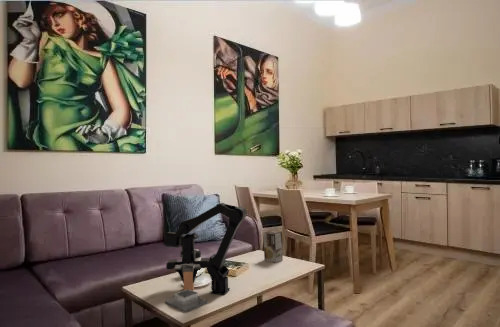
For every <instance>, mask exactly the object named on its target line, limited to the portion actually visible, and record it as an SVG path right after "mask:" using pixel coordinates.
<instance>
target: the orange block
mask: <svg viewBox="0 0 500 327" xmlns="http://www.w3.org/2000/svg"><path fill="white" fill-rule="evenodd" d="M193 272H194V265H193V266H184V268H183V276H184V283H183V290H186V289H189V290H192V291H194V288H195V282H194V283H193Z"/></svg>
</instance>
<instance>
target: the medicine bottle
mask: <svg viewBox="0 0 500 327" xmlns="http://www.w3.org/2000/svg"><path fill="white" fill-rule="evenodd" d="M194 251H195V252H196V259H195V261H200V259H201V258H202V255H201V254H202V252H201V250H199V249H194ZM185 264H187V263H185ZM189 266H193V265H189ZM194 267H195V266H194Z"/></svg>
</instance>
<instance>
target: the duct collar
mask: <svg viewBox="0 0 500 327" xmlns="http://www.w3.org/2000/svg"><path fill="white" fill-rule="evenodd" d="M208 303H209V301H208V300H206V299H204V298H202V297H199V292H197V291H194V290H193V291H192V290H189V289H186V290H184V289H183V290H181V291H179V292H176V293H173V297H171V298H169V299H168V298H167V299H165V300H164V304H167V305H169V306H171V307H172V308H174V309H177V310H180V311H181V312H183V313H185V314H186V313H188V312H190V311H192V310H194V309H197V308H199V307H201V306H204V305H206V304H208Z"/></svg>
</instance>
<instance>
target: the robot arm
mask: <svg viewBox="0 0 500 327" xmlns="http://www.w3.org/2000/svg"><path fill="white" fill-rule="evenodd" d="M219 214H221V215H223V216H225V217H228V226H227V228H226V231H225V233H224V234H223V237H222V239H221V242H220V245H219V247H218V249H217V251H216V253H213V254H212V255H211V256H210V257H201V259H200V261H195V259H196V252H195V251H194V250H195V239H198V238H199V237H200V236H199V235H198V234H197V233H196V232H195V230H196V229H198V227H200V226H201V225H202V224H203V223H205V222H207V221H208V220H210V219H213V218H214V217H215V216H217V215H219ZM247 215H248V211H247V209H246V208H245V207H244V206H236V205H232V204H228V203H227V204H226V203H224V202H219V203H217V204H216V205H215V206H213V207H211V208H210V209H208V210H205V211H204V212H203V213H201V214H199V215H197V216H195V217H191V218H189V219H188V218H187V219H185V220H183V221H181V222H180V223H179V226H178V229H177V231H176V232H172V231H168V232H166V236H165V237H164V246H165V248H175V249H176V248H177V249H178V248H180V246H181V250H180V257H181V260H179V261H178V259H177V258H176V259H175V258H174V259H169V260H168V261H167V262H166V270H174V271H175V272H177V273H178V275H179V276H180V279H181V281H182V283H183V284H184V276H183V268H184V266H189V265H194V266H195V267H194V272H193V283H194V284H195V281H196V277H197V276H196V274H197V271H198V270H200V269H201V268H204V269H206V271H207V273H208V275H209V277H210V279H211V282H210V283H211V291H210V294H215V295H222V296H223V295H226V294H227V293H228V292H229V291H230V287H229V278H228V277H229V276H228V275H229V273H230V269H229V268H228V267H227V266H226V265H225V264H226V257H227V254H228V251H229V249H230V247H231V245H232V242H233V240H234V237H235V235H236V234H237V233H236V232H237V231H238V229H239V227H240V225H241V224H242V223H243V222H244V220H245V219H246V218H247ZM191 232H193V233H191ZM186 263H187V264H186Z"/></svg>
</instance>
